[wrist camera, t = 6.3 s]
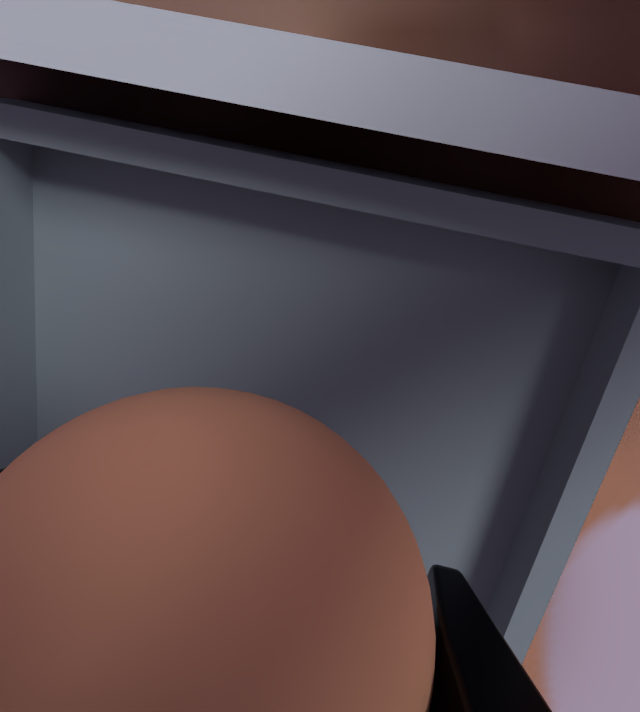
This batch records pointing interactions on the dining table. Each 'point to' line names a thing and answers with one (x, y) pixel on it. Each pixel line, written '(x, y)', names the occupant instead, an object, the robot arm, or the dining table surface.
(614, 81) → the dining table surface
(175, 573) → the ball
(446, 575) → the robot arm
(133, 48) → the wall
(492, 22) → the dining table surface
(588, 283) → the grey square tray
